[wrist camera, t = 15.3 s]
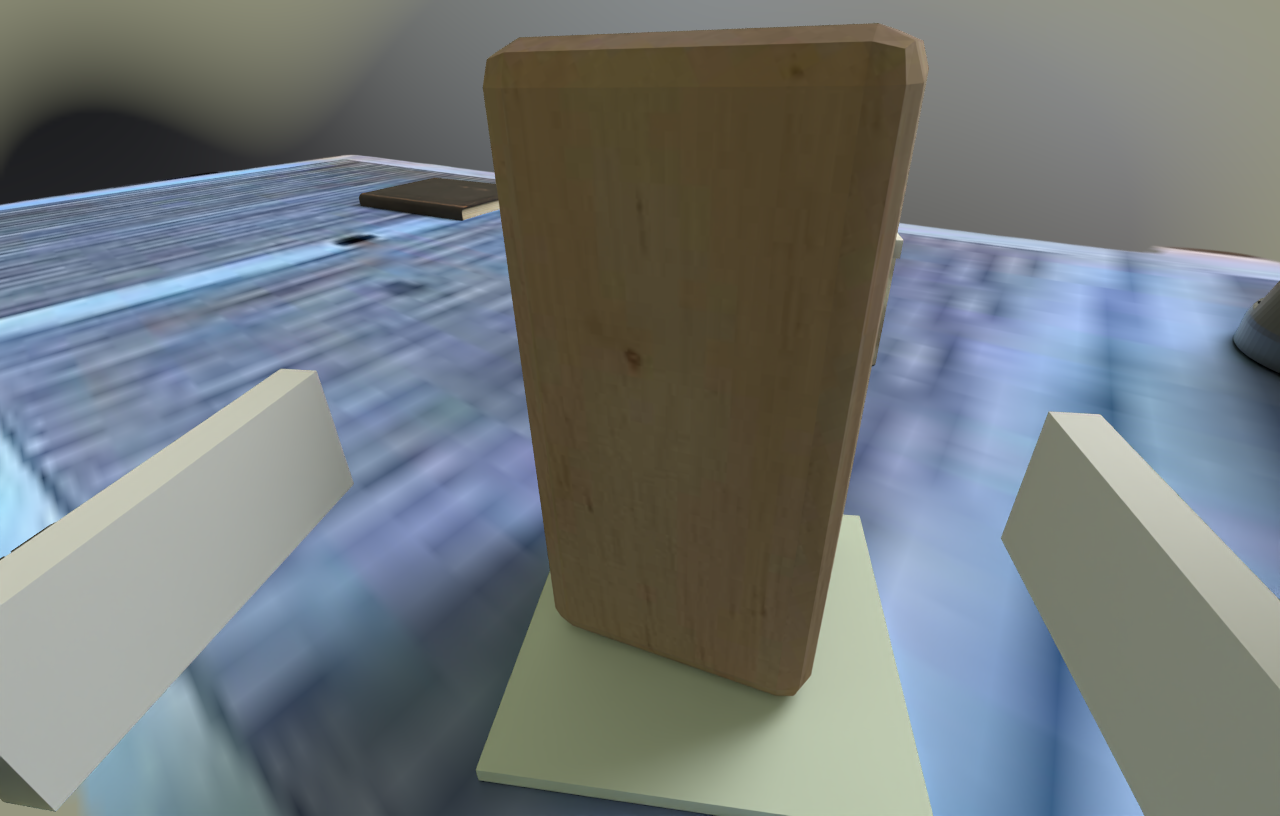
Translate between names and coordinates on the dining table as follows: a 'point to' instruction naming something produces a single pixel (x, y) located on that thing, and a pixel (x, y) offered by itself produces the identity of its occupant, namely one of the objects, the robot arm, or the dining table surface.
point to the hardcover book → (436, 198)
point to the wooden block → (701, 317)
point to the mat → (715, 719)
